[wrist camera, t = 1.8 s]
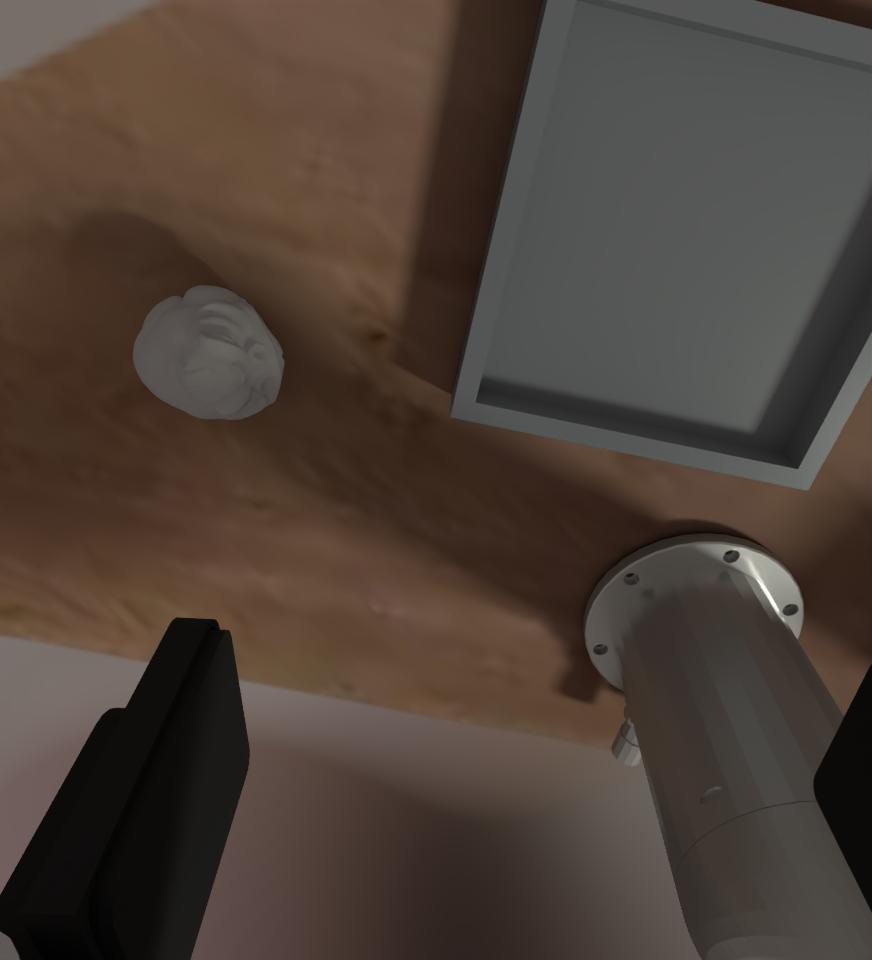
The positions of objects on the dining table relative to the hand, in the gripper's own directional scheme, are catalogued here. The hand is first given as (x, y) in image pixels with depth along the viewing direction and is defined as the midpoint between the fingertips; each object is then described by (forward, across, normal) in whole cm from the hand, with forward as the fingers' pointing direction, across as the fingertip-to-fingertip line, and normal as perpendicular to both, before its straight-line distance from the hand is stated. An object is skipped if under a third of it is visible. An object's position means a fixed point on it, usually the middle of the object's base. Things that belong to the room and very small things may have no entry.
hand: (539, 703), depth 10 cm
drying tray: (+25, -9, -2) cm, 27 cm away
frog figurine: (+25, +12, +3) cm, 28 cm away
